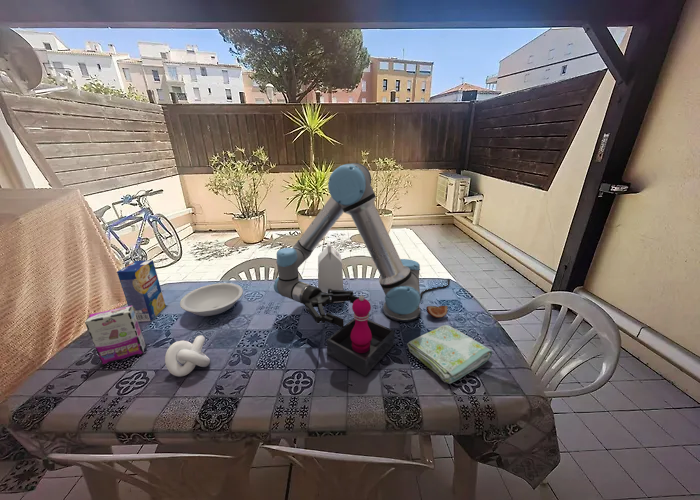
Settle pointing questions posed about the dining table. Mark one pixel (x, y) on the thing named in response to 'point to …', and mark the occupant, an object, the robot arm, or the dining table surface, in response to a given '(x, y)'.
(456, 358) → the towel
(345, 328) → the open box
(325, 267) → the milk
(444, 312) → the fruit slice
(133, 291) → the blue cracker box
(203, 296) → the soup bowl
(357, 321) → the pepper mill
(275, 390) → the dining table surface
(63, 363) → the dining table surface
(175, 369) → the white knot sculpture
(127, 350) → the candy bar box
